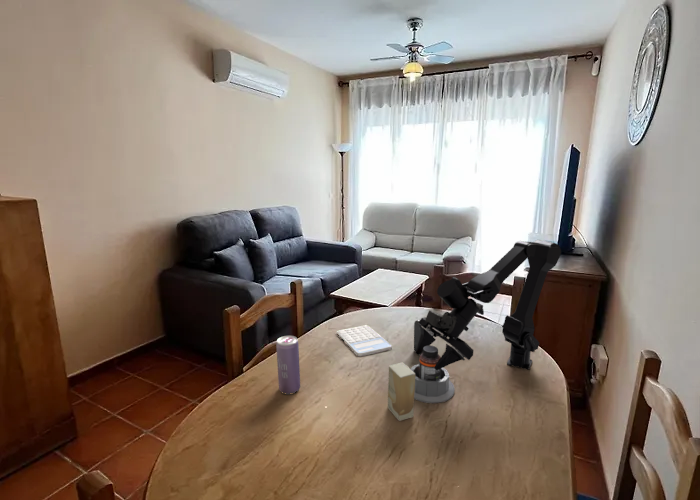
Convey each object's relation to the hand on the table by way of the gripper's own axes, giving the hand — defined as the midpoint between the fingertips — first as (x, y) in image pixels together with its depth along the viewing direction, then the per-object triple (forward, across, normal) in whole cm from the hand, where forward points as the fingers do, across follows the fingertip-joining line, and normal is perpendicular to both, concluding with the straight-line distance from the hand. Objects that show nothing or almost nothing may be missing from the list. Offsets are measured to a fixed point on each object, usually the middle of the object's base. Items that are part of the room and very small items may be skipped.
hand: (425, 361), depth 106 cm
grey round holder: (+5, 0, +7) cm, 9 cm away
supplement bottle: (+4, 0, +7) cm, 8 cm away
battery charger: (-2, -18, +14) cm, 23 cm away
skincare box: (+14, +6, -2) cm, 16 cm away
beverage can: (+31, -16, -18) cm, 39 cm away
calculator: (+8, -35, +5) cm, 36 cm away
